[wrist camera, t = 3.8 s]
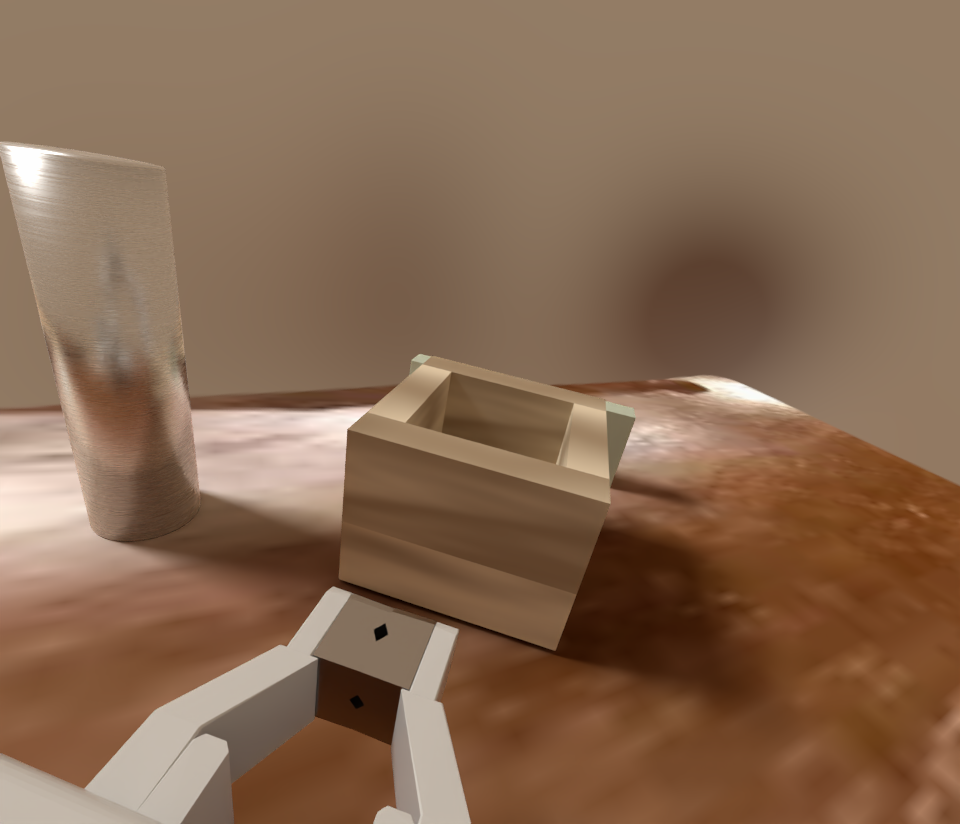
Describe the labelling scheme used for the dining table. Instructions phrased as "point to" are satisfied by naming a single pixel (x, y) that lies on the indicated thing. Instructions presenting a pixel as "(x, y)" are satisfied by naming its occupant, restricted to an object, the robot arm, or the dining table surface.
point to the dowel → (111, 330)
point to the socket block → (477, 497)
